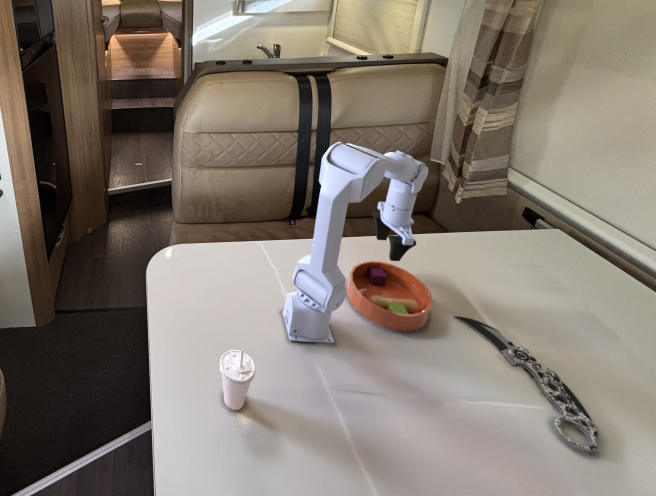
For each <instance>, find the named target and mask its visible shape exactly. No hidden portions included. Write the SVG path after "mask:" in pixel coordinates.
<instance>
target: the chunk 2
mask: <svg viewBox="0 0 656 496" xmlns="http://www.w3.org/2000/svg"><path fill="white" fill-rule="evenodd" d="M387 310H388V311H392V312H396V313H399V314H408V312H407V310H406V309H405V307H404V305H401V304H388V308H387Z"/></svg>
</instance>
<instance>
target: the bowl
mask: <svg viewBox="0 0 656 496" xmlns="http://www.w3.org/2000/svg"><path fill="white" fill-rule="evenodd" d="M369 267H382V269H383V270H384V272H385V274H386V275H387V279H386V283H385V286H372V285H371V283H370V282H369V280H368V278H367V273H368V269H369ZM346 292H347V293H346V296H347V297H348V300H349V301H350V303H351V305H352V306H353V307H354V308H355V310H357V312H359V313H360V314H361V315H362V316H364V317H365V318H367V319H368V320H369V321H371V322H372V323H375V324H377V325H379V326H381V327H383V328H385V329H389V330H393V331H400V332H413V331H417V330H420V329H421V328H422V327H424V326H425V325H426V324H427V321H428V319H429V316H430V313H431V309H432V306H433V303H434V300H433V297H432V293H431V292H430V290H429V288H428V287H427V286H426V284H425V283H424V282H422V281H421V280H420V279H419V278H418V277H417V276H415V275H414V274H412V273H411V272H409V271H408V270H406V269H404V268H403V267H399V266H397V265H395V264H392V263H388V262H383V261H377V260H375V261H374V260H366V261H361V262H358V263H357V264H354V265H353V267H352V268H351V270H350V272H349V274H348V279H347V283H346ZM369 297H378V298H394V299H410V300H415V301H416V302H417V305H418V312H417V313H410V312H408V314H399V313H396V312H392V311H388V310H386V309H384V308H381V307H379V306H377V305H375V304H374V303H372V302H371V301H369V300H368V298H369Z"/></svg>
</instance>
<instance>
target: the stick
mask: <svg viewBox="0 0 656 496" xmlns="http://www.w3.org/2000/svg"><path fill="white" fill-rule="evenodd" d="M368 300H369V301H371V302H372V303H374V304H375V305H377V306H379V307H381V308H384V309H386V310H387V308H388V304H401V305H404V307H405V309H406V310H407V312H410V313H417V312H418V305H417V302H416V301H415V300H410V299H394V298H378V297H369V298H368Z"/></svg>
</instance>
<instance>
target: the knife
mask: <svg viewBox="0 0 656 496" xmlns="http://www.w3.org/2000/svg"><path fill="white" fill-rule="evenodd" d="M453 317H454V318H456V319H457V320H458V321H460V322H462V323H464V324H466V325H467V326H468V327H470V328H472V329H473V330H474V331H476V332H477V333H478V334H480V335H481V336H482V337H483V338H484V339H486V340H487V341H489V343H491V344H492V346H494V348H495V349H496V350H497V351H498V352H499V353H501V354H502V356H503V357H504V359H505V360H506V361H507V362H508V363H509V364H510V365H512V366H513V367H514V366H519V367H522V368H523V369H524V370H525V371H526V373H528V374H529V375H530V377H532V379H533V380H534V381H535V382H536V384H538V386H539V388H540V390H541V391H542V393H543V394H544V396H545V397H546V398H547V399H548V400H549V401H550V402H551V403H552V404H553V405H554V406H555V407H556V408H557V409H558V410H559V411H560V413H561V414H562V415H561V416H558V417H556V418H555V420H554V422H553V429H554V430H555V432H556V434H557V435H558V436H559V438H560V439H562V441H563V442H565V443H566V444H567V445H568V446H570V447H571V448H573V449H574V450H576V451H578V452H580V453H584V454H587V455H595V454H597V452H598V444H597V440H598V439H599V436H600V433H599V431H598V428H597V425H596V424H595V423H594V422H593V420H592V418H591V416H590V415H589V413H588V412H587V410H586V408H585V407H584V405H583V404H582V402H580V400H579V399H578V397H577V396H576V395H575V394H574V392H573V391H572V390H571V389H570V388H569V387H568V386H567V385H566V383H564V382H563V381H562V378H561V377H560V375H558V374H557V373H556V372H555V371H553V370H552V369H550V368H548V367H547V366H545V365H544V364H543V363H542V362H540V361H539V360H538V359H536V358H535V357H534V355H533V354H531V352H530V351H529V350H528V349H526V348H525V347H523V346H521V345H520V344H514V343H513V342H512V341H511V340H509V339H508V338H506V336H505V335H503V333H502V332H501V331H500V330H499V329H497V328H495V327H492V325H491V326H490V325H488V324H486V323H484V322H482V321H480V320H477V319H473V318H471V317H466V316H460V315H453ZM551 387H552V388H553V389H552V388H551ZM554 389H555V390H554ZM561 400H562V401H563V402H562V401H561ZM562 424H567V425H571V426H573V427H575V428H577V429H578V430H580V431H581V432H582V433H584V435H586V437H587V438H588V439H589V441H590V445H584V444H580V443H579V442H576V441H575V440H573V439H571V438H570V437H569V436H568V435H567V434H566V433H565V432H564V431H563V429H562V427H561V425H562Z"/></svg>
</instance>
